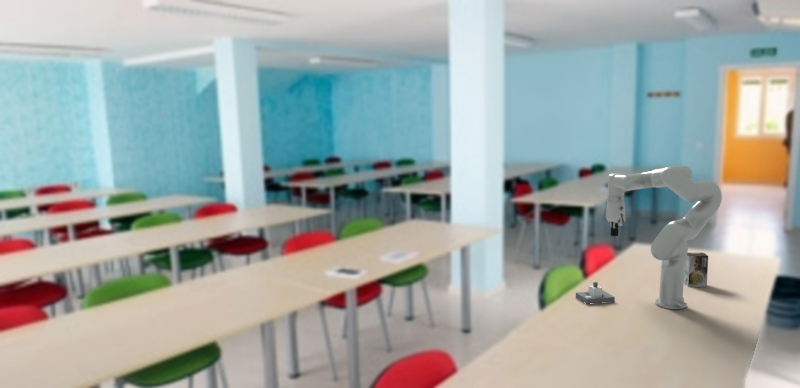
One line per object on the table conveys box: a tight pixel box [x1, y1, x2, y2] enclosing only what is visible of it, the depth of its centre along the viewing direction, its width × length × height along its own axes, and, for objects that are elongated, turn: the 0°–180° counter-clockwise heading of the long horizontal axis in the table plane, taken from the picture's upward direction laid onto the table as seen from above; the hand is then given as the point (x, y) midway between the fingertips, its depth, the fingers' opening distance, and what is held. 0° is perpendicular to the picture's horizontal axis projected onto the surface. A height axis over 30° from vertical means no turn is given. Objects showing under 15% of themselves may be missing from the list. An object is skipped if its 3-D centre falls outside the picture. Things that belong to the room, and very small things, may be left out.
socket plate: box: [575, 289, 616, 305], centre depth 265 cm, size 10×14×3 cm
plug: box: [587, 281, 603, 298], centre depth 264 cm, size 4×4×8 cm
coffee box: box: [684, 252, 709, 288], centre depth 284 cm, size 9×6×16 cm
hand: (614, 235), depth 279 cm, fingers closed
